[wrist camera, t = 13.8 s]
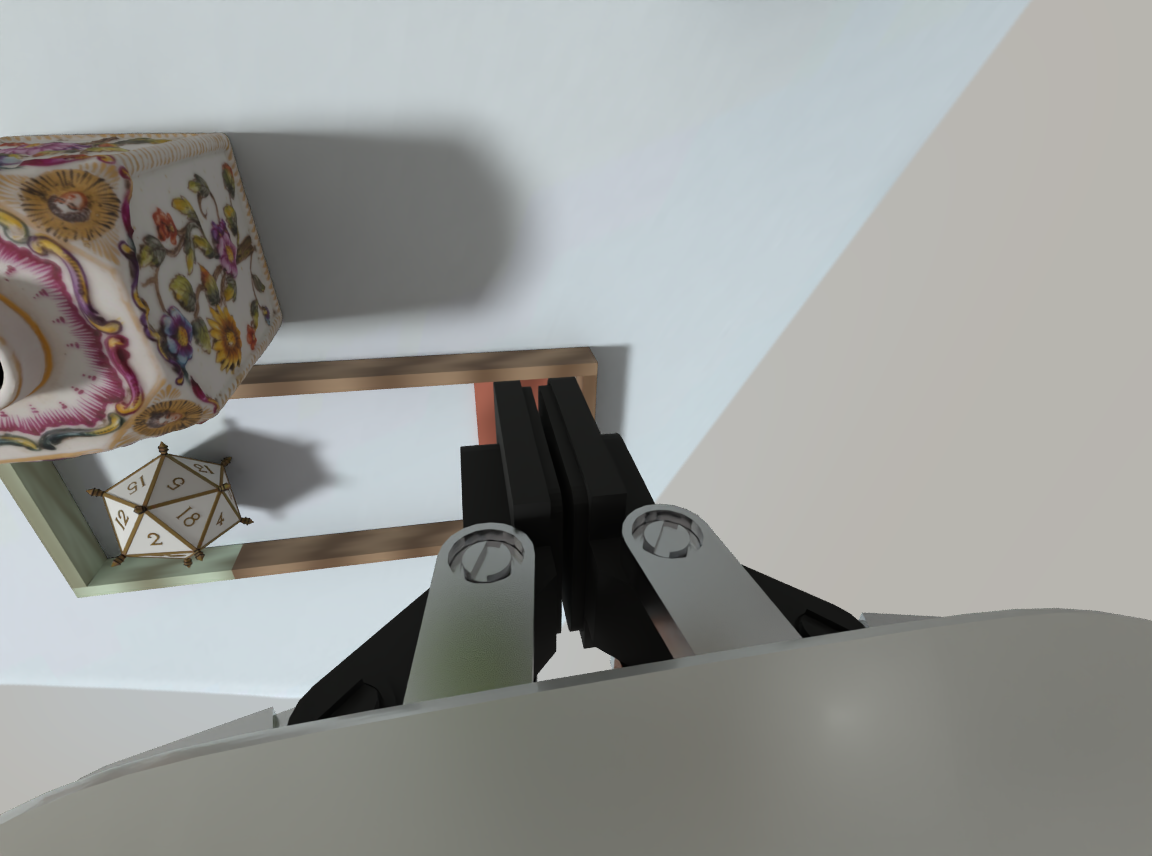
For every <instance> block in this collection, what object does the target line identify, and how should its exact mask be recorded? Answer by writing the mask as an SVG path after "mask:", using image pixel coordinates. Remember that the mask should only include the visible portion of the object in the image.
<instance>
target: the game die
mask: <svg viewBox="0 0 1152 856" xmlns="http://www.w3.org/2000/svg"><path fill="white" fill-rule="evenodd" d="M167 447H168V446H167V445H165V444H164V443H163V442H162V441H161V443H160V446H158V449H159V452H160V453H161V455H159V456H158V457H156V458H155V459H152V461H150V462H149V463H147V464H146V465H144V466H142V467H141V468H139V469H138V470H136V471H135V472H133V473H132V474H130V475H129V476H127V477H126V478H124V479H123V480H121V481H120V482H118V483H116V484H115V485H113V486H112V487H110V488H109V489H107V490H106V491H101V490H100V489H95V488H94V489H90V490H86V492H88V493H89V494H90V495H91V496H96V497H97V496H102V497H103V500H104V503H105V506H106V509H107V512H108V515H109V518H110V521H111V524H112V527H113V530H114V533H115V536H116V539H117V542H118V545H119V548H120V551H121V555H120V556H118V557H116V559H115V560H113V563H112V566H111V567H114V566H117V565H121V563H122V562H124V559H125V558H126V557H136V558H170V559H184V561H183V562H184V564H183V565H185V566H187V567H188V568H190V567H191V565H192V563H193V561H192V559H191V558H190V557H191V556H193V555H194V556H195V558H196V559H197V560H200V561H203V558H204V556H205V554H203V552H202V551H201V550H202V549H203V548H205V547H206V546H208V545H209V544H210V543H212V542H213V541H214V540H216V539H217V538H219V537H220V536H221V535H223V534H224V533H225V532H227V531H228V530H230V529H231V528H232V527H234V526H235V525H236V524H238V523H239V522H241V523H243V524H247V525H248V524H251V523H254V522H253V521H252V520H251V519H250V518H247V517H245V518H241V515H240V512H239V509H238V506H237V503H236V501H235V498H234V495H233V492H232V489H231V485H230V483H229V480H228V477H227V474H226V471H225V468H224V466H227V465H228V464H229V463H231V462H230V461H231V457H229V458H224V460H222V462H221V464H217V463H212V462H207V461H202V460H197V459H192V458H187V457H182V456H177V455H172V454H168V453H167V451H168V450H169V449H167Z"/></svg>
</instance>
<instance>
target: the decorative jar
mask: <svg viewBox="0 0 1152 856" xmlns="http://www.w3.org/2000/svg"><path fill="white" fill-rule="evenodd" d="M281 323H282V313H281V310H280V306H279V303H278V299H277V296H276V293H275V290H274V287H273V283H272V280H271V277H270V274H269V270H268V267H267V263H266V260H265V257H264V254H263V251H262V247H261V244H260V240H259V236H258V233H257V230H256V227H255V223H254V220H253V216H252V213H251V209H250V206H249V203H248V200H247V197H246V194H245V191H244V188H243V185H242V181H241V178H240V174H239V171H238V168H237V163H236V160H235V157H234V155H233V150H232V146H231V143H230V140H229V139H228V137H227V136H226V135H225V134H223V133H198V134H190V133H186V134H183V133H168V134H154V133H150V134H139V133H136V134H98V135H95V134H87V135H44V136H12V137H8V136H7V137H1V138H0V464H6V463H17V462H40V461H55V460H63V459H68V458H76V457H78V456H81V455H86V454H93V453H100V452H105V451H110V450H113V449H116V448H119V447H125V446H128V445H131V444H133V443H135V442H137V441H139V440H142V439H146V438H150V437H158V436H161V435H164V434H167V433H170V432H173V431H178V430H182V429H185V428H188V427H190V426H192V425H195V424H202V423H204V422H206V421H207V420H209V419H211V418H213V417H214V416H216V415H217V414H218V413H219V411H220V410H221V409H222V408H223V406H224V405H225V404H226V402H227V401H228V399H229V398H230V397H231V396H232V395H233V394H234V392H235V390H236V389H237V388H238V386H239V385H240V384H241V382H242V381H243V380H244V379H245V377H246V376H247V374H248V372H249V371H250V370H251V368H252V367H253V365H254V364H255V363H256V361H257V360H258V359H259V358H260V357H261V355H262V354H263V352H264V351H265V350H266V348H267V347H268V346H269V344H270V343H271V341H272V339H273V337H274V336H275V335H276V333H277V331H278V330H279V328H280V326H281Z"/></svg>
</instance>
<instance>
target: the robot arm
mask: <svg viewBox="0 0 1152 856" xmlns="http://www.w3.org/2000/svg"><path fill="white" fill-rule="evenodd" d="M493 392H494V409H495V425H496V442H497V444H485V445H474V446H462V447H460V451H461V479H462V507H463V529H461V530H460V531H458V532H457V533H455V534H453V535H452V536H450V537H449V539H448V540H447V541H446V542H445V543H444V544H443V545H442V547H441V549H440V551H439V553H438V556H437V560H436V564H435V569H434V573H433V577H432V581H431V586H430V588H429V589H428V590H427V591H425V592H424V593H423V594H422V595H421V596H419V597H418V598H417V599H416V600H415V601H413V602H412V603H411V604H410V605H409V606H408V607H406V608H405V609H404V610H403V611H402V612H400V613H399V614H398V615H397V616H396V617H395V618H393V619H392V620H391V621H390V622H389V623H387V624H386V625H385V626H384V627H383V628H381V629H380V630H379V631H378V632H377V633H376V634H374V635H373V636H372V637H371V638H370V639H368V640H367V641H366V642H365V643H364V644H363V645H361V646H360V647H359V648H358V649H357V650H355V651H354V652H353V653H352V654H351V655H349V656H348V657H347V658H346V659H345V660H344V661H342V662H341V663H340V664H339V665H338V666H336V667H335V668H334V669H333V670H332V671H331V672H329V673H328V674H327V675H326V676H325V677H323V678H322V679H321V680H320V681H319V682H317V683H316V684H315V685H314V686H313V687H312V688H311V689H310V690H309V691H308V692H307V693H306V694H305V695H304V696H303V697H302V698H301V699H300V701H299V702H298V704H297V705H296V707H295V708H292V709H290V710H287V711H284V712H281V713H279V714H276V713H275V711H274V708H273V707H271V708H268V709H265V710H262V711H259V712H256V713H254V714H251V715H248V716H245V717H242V718H239V719H237V720H234V721H231V722H229V723H225V724H223V725H220V726H217V727H214V728H211V729H208V730H206V731H203V732H200V733H197V734H194V735H192V736H189V737H186V738H183V739H180V740H177V741H174V742H172V743H169V744H166V745H163V746H161V747H157V748H155V749H152V750H149V751H146V752H143V753H141V754H138V755H135V756H132V757H129V758H127V759H124V760H121V761H118V762H115V763H112V764H110V765H107V766H104V767H102V768H100V769H98V770H96V771H94V772H92V773H90V774H88V775H86V776H84V777H82V778H80V779H79V780H77V781H75V782H73V783H70V784H67V785H65V786H62V787H59V788H57V789H54V790H51V791H49V792H46V793H44V794H42V795H40V796H38V797H36V798H34V799H32V800H30V801H27V802H25V803H23V804H21V805H19V806H17V807H15V808H13V809H11V810H9V811H6V812H4V813H2V814H0V856H1152V621H1151V620H1147V619H1141V618H1135V617H1130V616H1124V615H1118V614H1112V613H1106V612H1100V611H1092V610H1091V611H1090V610H1076V609H1060V608H1044V609H1011V610H1002V611H992V612H982V613H971V614H961V615H954V616H947V617H934V616H915V615H897V614H877V613H862V614H861V616H860V619H859V620H857V619H856V618H855V617H854V616H852V615H851V614H850V613H848V612H846V611H844V610H843V609H841V608H839V607H837V606H835V605H833V604H831V603H829V602H827V601H824V600H822V599H820V598H817V597H815V596H813V595H810V594H808V593H806V592H804V591H801V590H799V589H797V588H794V587H792V586H790V585H787V584H785V583H783V582H780V581H778V580H776V579H773V578H771V577H769V576H767V575H764V574H762V573H759V572H757V571H755V570H753V569H750V568H748V567H746V566H743V565H741V564H740V563H739V562H738V560H737V559H736V558H735V557H734V555H733V554H732V553H731V552H730V551H729V549H728V548H727V547H726V546H725V545H724V544H723V542H722V541H721V540H720V539H719V537H718V536H717V535H716V534H715V533H714V531H713V530H712V529H711V528H710V527H709V525H708V524H707V523H706V522H705V521H704V520H703V519H701V518H700V517H699V516H698V515H696V514H694V513H693V512H691V511H689V510H687V509H684V508H681V507H678V506H675V505H667V504H655V503H654V501H653V499H652V497H651V495H650V493H649V491H648V489H647V487H646V485H645V483H644V481H643V479H642V477H641V475H640V473H639V471H638V469H637V467H636V465H635V463H634V461H633V459H632V457H631V455H630V453H629V451H628V449H627V447H626V445H625V443H624V441H623V439H622V437H621V436H620V434H617V433H614V434H603V435H601V434H600V431H599V429H598V427H597V425H596V422H595V420H594V418H593V416H592V413H591V411H590V409H589V407H588V405H587V402H586V400H585V398H584V396H583V393H582V391H581V389H580V387H579V384H578V382H577V380H576V378H575V376H574V377H559V378H548V381H547V385H542V386H538V409H537V406H536V402H535V399H534V395H533V392H532V388H531V386H527V387H522V386H521V382H520V380H513V381H498V382H493ZM562 602H563V607H564V611H565V616H566V620H567V625H568V628H569V630H570V632H571V631H577V630H579V631H580V635H581V638H582V643H583V647H584V648H592V647H597V648H599V649H600V650H602V651H604V652H605V653H607V654H609V655H611V660H610V663H611V667H612V670H605V671H599V672H594V673H587V674H582V675H575V676H569V677H564V678H557V679H551V680H545V681H539V682H537V674H538V673H539V672H540V670H541V669H542V668H543V667H544V665H545V664H546V663H547V662H548V661H549V659H550V658H551V657H552V656H553V654H554V653H555V652H556V634H558V633H561V618H562Z"/></svg>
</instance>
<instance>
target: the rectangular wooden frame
mask: <svg viewBox="0 0 1152 856" xmlns="http://www.w3.org/2000/svg"><path fill="white" fill-rule="evenodd" d="M597 367H598V362H597V361H596V359H595V357H594V355H593V353H592V352H591V350H590V348H589V347H577V348H559V349H541V350H523V351H505V352H487V353H469V354H451V355H433V356H415V357H397V358H379V359H361V360H343V361H325V362H307V363H289V364H271V365H253V367H252V368H251V370H250V371H249V372H248V374H247V376H246V377H245V379H244V380H243V381H242V382H241V384H240V385H239V386H238V388H237V389H236V390H235V392H234V394H233V395H232V396H231V397H230V398H229V399H238V398H254V397H269V396H284V395H300V394H315V393H330V392H346V391H361V390H376V389H392V388H407V387H422V386H438V385H453V384H468V383H474V388H475V400H476V413H477V425H478V438H479V445H485V444H497V442H496V425H495V409H494V392H493V382H498V381H513V380H520V382H521V386H522V387H527V386H531V388H532V392H533V395H534V399H535V402H536V406H537V409H538V386H542V385H547V381H548V378H559V377H574V376H575V377H576V380H577V382H578V384H579V387H580V389H581V391H582V393H583V396H584V398H585V400H586V402H587V405H588V407H589V409H590V411H591V413H592V416H593V418H594V420H595V407H596V387H597ZM0 478H1V480H2V481H3V483H4V484H5V486H6V487H7V489H8V491H9V492H10V494H11V495H12V497H13V498H14V500H15V501H16V503H17V505H18V506H19V508H20V509H21V511H22V512H23V514H24V515H25V517H26V519H27V520H28V522H29V523H30V525H31V526H32V528H33V529H34V531H35V532H36V534H37V536H38V537H39V539H40V540H41V542H42V543H43V545H44V546H45V548H46V550H47V551H48V553H49V554H50V556H51V557H52V559H53V560H54V562H55V563H56V565H57V567H58V568H59V570H60V571H61V573H62V574H63V576H64V577H65V579H66V581H67V582H68V584H69V585H70V587H71V588H72V590H73V591H74V593H75V594H76V596H77V598H81V597H89V596H98V595H106V594H114V593H123V592H131V591H140V590H148V589H156V588H165V587H173V586H181V585H190V584H198V583H207V582H215V581H223V580H232V579H240V578H248V577H257V576H265V575H273V574H282V573H290V572H299V571H307V570H315V569H324V568H332V567H340V566H349V565H357V564H366V563H374V562H382V561H391V560H399V559H407V558H416V557H424V556H433V555H438V553H439V551H440V549H441V547H442V545H443V544H444V543H445V542H446V541H447V540H448V539H449V537H450V536H452V535H453V534H455V533H457V532H458V531H460V530H461V529H463V520H457V521H448V522H439V523H430V524H421V525H412V526H402V527H393V528H384V529H375V530H366V531H357V532H347V533H338V534H329V535H320V536H311V537H302V538H292V539H283V540H274V541H265V542H256V543H247V544H237V545H228V546H219V547H210V548H203V549H202V550H201V551H202V552H203V554H205V556H204V558H203V561H200V560H197V559H196V558H195V556H194V555H193V556H191V557H190V558H191V559H192V561H193V563H192V565H191V567H190V568H188V567H187V566H185V565H183V564H184V562H183V561H184V559H170V558H136V557H126V558H125V559H124V562H122V563H121V565H117V566H114V567H111V566H112V563H113V560H115V559H116V558H109V559H107V557H106V555H105V554H104V552H103V550H102V548H101V547H100V545H99V543H98V541H97V540H96V538H95V536H94V534H93V533H92V531H91V529H90V527H89V526H88V524H87V522H86V520H85V519H84V517H83V515H82V513H81V512H80V510H79V508H78V507H77V505H76V503H75V501H74V500H73V498H72V496H71V494H70V493H69V491H68V489H67V487H66V486H65V484H64V482H63V480H62V479H61V477H60V475H59V473H58V472H57V470H56V468H55V466H54V465H53V463H52V461H40V462H17V463H6V464H0Z"/></svg>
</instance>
